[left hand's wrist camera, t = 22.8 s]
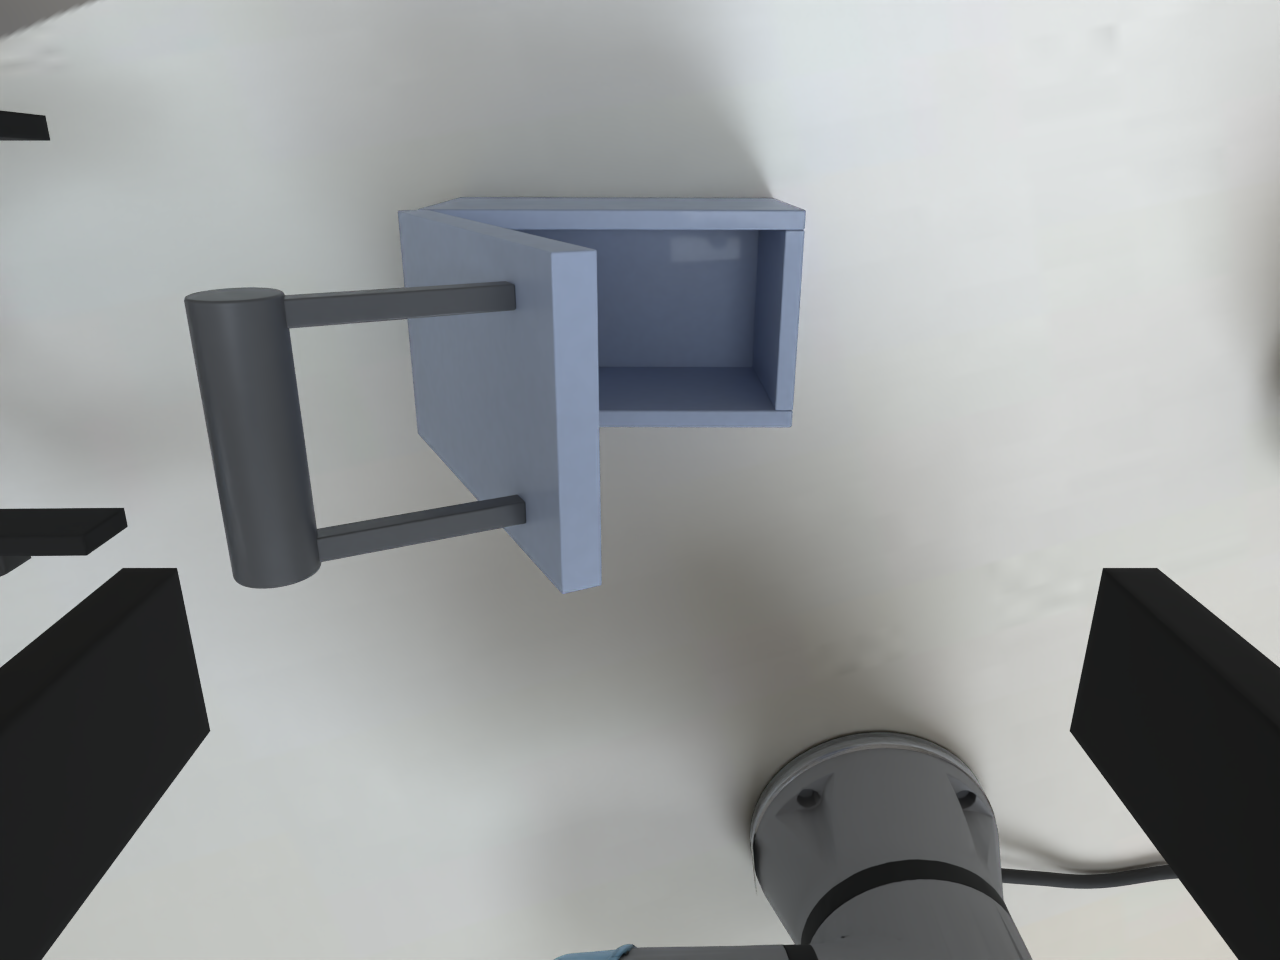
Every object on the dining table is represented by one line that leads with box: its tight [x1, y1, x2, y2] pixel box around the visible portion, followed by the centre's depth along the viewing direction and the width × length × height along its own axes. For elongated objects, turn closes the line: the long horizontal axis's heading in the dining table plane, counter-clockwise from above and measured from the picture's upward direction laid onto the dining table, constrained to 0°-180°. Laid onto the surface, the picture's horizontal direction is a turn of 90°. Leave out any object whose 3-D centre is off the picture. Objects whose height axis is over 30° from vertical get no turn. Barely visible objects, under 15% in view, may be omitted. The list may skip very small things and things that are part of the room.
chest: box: [418, 197, 806, 427], centre depth 41 cm, size 16×9×9 cm, turn 90°
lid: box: [184, 210, 602, 594], centre depth 28 cm, size 16×9×9 cm
